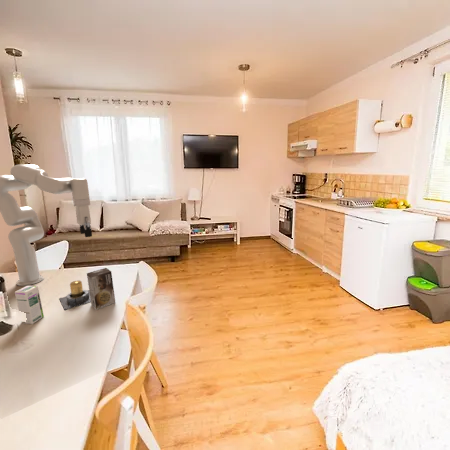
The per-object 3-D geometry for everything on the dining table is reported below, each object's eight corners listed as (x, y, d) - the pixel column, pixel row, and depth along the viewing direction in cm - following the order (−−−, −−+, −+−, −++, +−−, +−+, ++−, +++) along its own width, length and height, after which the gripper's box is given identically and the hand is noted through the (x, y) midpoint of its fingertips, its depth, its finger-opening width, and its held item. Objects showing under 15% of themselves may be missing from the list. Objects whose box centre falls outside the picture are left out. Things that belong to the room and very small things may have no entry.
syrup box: (32, 324, 112) (26, 292, 108) (20, 323, 113) (14, 291, 110) (44, 316, 117) (38, 285, 114) (32, 315, 118) (26, 285, 115)
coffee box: (110, 298, 132) (106, 267, 129) (115, 302, 128) (112, 270, 124) (90, 305, 126) (86, 272, 123) (95, 310, 122) (91, 276, 118)
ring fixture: (59, 298, 133) (58, 293, 132) (90, 290, 141) (89, 285, 141) (64, 310, 122) (63, 304, 122) (97, 300, 131) (96, 294, 130)
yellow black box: (71, 298, 132) (69, 282, 131) (82, 295, 135) (80, 279, 134) (73, 302, 128) (70, 285, 127) (84, 298, 131) (82, 282, 130)
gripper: (70, 201, 142) (74, 233, 146) (77, 205, 129) (82, 239, 133) (85, 200, 147) (89, 231, 151) (94, 203, 134) (98, 236, 138)
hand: (86, 235), depth 142 cm, fingers open, 9 cm apart
